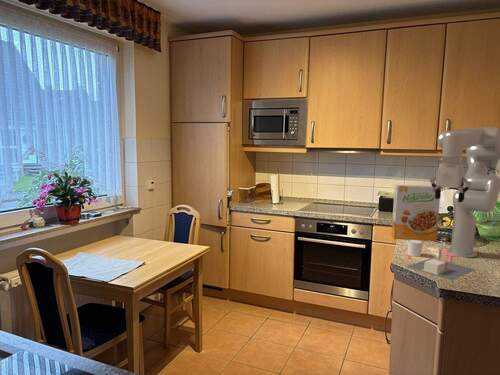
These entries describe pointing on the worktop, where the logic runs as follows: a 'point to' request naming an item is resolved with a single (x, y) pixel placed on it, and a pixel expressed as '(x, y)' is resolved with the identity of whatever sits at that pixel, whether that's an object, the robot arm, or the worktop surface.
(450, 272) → the mat
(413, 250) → the white cup
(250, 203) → the worktop surface
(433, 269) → the card box
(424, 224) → the cereal box
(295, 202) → the worktop surface
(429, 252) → the worktop surface
